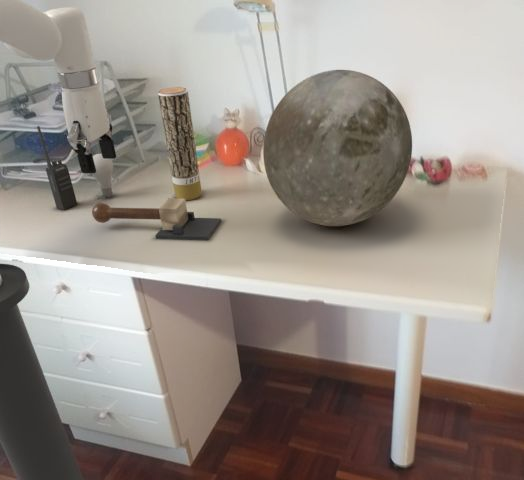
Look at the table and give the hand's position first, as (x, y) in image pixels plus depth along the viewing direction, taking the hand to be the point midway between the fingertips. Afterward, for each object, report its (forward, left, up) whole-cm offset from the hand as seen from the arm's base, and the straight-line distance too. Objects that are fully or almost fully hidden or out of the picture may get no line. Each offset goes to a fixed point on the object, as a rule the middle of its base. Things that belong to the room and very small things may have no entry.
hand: (99, 165), depth 123 cm
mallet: (-1, -7, -13) cm, 15 cm away
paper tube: (+19, -12, -14) cm, 27 cm away
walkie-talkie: (+11, +18, -14) cm, 26 cm away
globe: (+6, -51, -14) cm, 53 cm away
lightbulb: (+18, +10, -14) cm, 25 cm away
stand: (-1, -18, -14) cm, 23 cm away
